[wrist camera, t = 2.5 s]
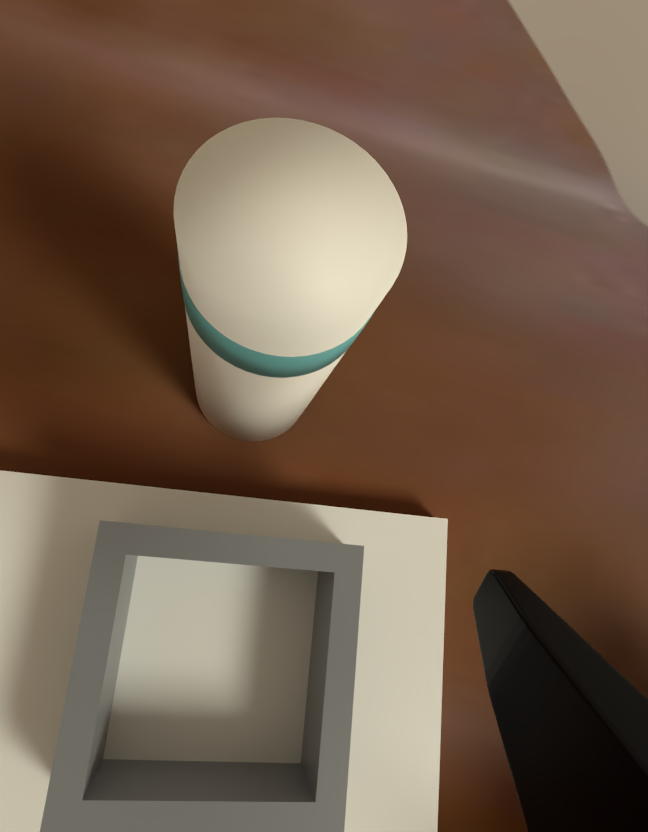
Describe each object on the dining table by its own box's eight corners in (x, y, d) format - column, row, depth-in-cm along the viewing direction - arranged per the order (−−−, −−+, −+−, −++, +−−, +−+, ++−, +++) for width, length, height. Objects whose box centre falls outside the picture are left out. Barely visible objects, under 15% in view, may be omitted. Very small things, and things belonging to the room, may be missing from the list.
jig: (424, 824, 21) (474, 892, 17) (-74, 824, 18) (-158, 907, 14) (436, 520, 24) (481, 516, 20) (9, 473, 21) (-40, 458, 17)
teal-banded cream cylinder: (225, 461, 23) (239, 368, 10) (175, 359, 23) (131, 152, 11) (326, 413, 24) (447, 279, 12) (277, 318, 25) (343, 93, 12)
